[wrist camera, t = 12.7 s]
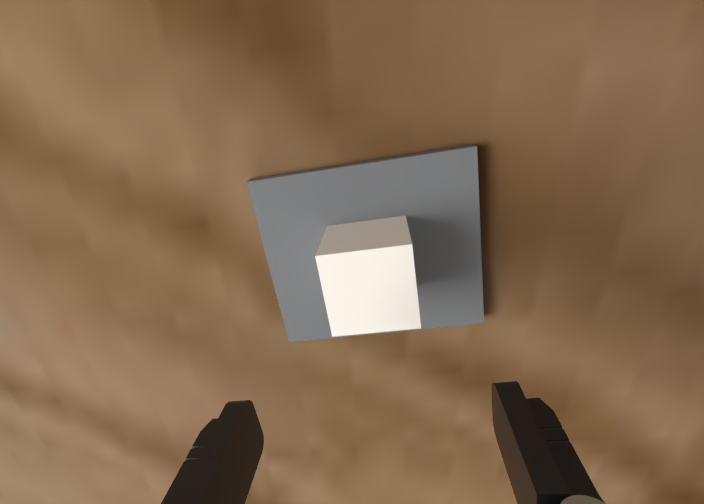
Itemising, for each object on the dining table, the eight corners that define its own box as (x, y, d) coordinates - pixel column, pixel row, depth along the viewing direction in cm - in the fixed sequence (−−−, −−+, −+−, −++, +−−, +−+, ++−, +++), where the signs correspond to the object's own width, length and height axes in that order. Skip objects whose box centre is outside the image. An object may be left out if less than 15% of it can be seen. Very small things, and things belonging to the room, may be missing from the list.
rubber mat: (473, 144, 22) (477, 146, 21) (480, 315, 27) (484, 323, 26) (251, 178, 24) (246, 182, 23) (291, 334, 28) (289, 342, 28)
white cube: (405, 215, 23) (412, 244, 19) (413, 286, 25) (421, 328, 21) (327, 225, 24) (315, 256, 19) (340, 294, 26) (332, 336, 21)
